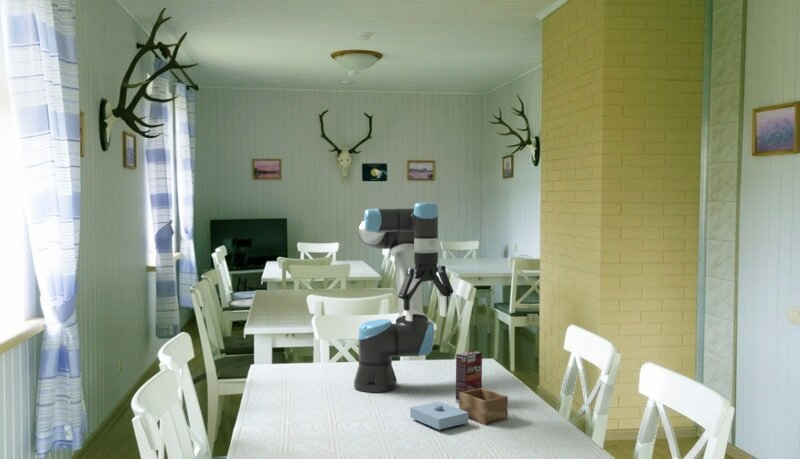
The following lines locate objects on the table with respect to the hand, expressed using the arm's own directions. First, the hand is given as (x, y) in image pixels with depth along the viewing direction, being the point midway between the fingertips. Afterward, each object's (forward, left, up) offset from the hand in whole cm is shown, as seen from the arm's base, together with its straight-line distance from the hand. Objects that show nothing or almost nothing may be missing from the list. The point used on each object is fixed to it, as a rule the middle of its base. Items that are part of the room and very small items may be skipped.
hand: (426, 318), depth 228 cm
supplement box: (+2, +16, -29) cm, 33 cm away
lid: (+14, -6, -29) cm, 33 cm away
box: (+18, +8, -29) cm, 35 cm away
